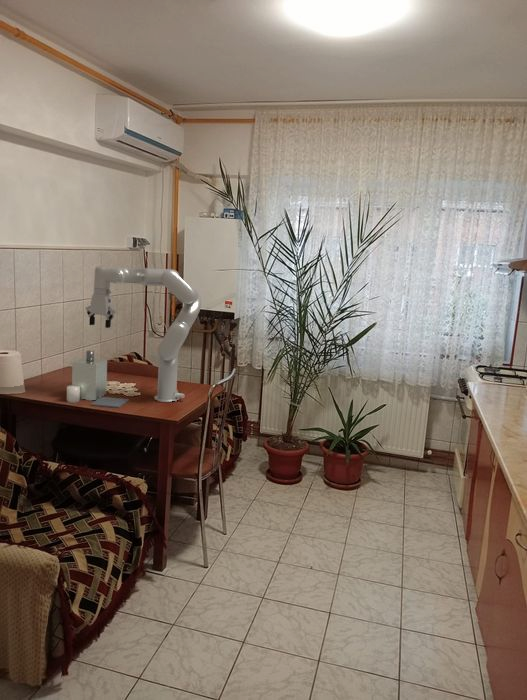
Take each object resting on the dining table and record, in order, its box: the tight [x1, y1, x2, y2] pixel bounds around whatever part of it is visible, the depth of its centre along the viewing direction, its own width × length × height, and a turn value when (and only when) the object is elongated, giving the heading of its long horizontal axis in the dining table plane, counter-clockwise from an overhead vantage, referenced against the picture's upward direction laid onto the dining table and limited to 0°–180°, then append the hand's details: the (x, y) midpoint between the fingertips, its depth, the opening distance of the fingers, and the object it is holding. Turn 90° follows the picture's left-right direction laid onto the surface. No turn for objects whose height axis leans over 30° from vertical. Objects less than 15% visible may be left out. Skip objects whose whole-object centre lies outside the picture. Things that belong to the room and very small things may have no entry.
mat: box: [90, 396, 130, 409], centre depth 262 cm, size 14×14×1 cm
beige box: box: [71, 350, 108, 401], centre depth 270 cm, size 12×13×23 cm
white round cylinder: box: [66, 384, 81, 403], centre depth 262 cm, size 6×6×7 cm
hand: (99, 326), depth 268 cm, fingers open, 9 cm apart
